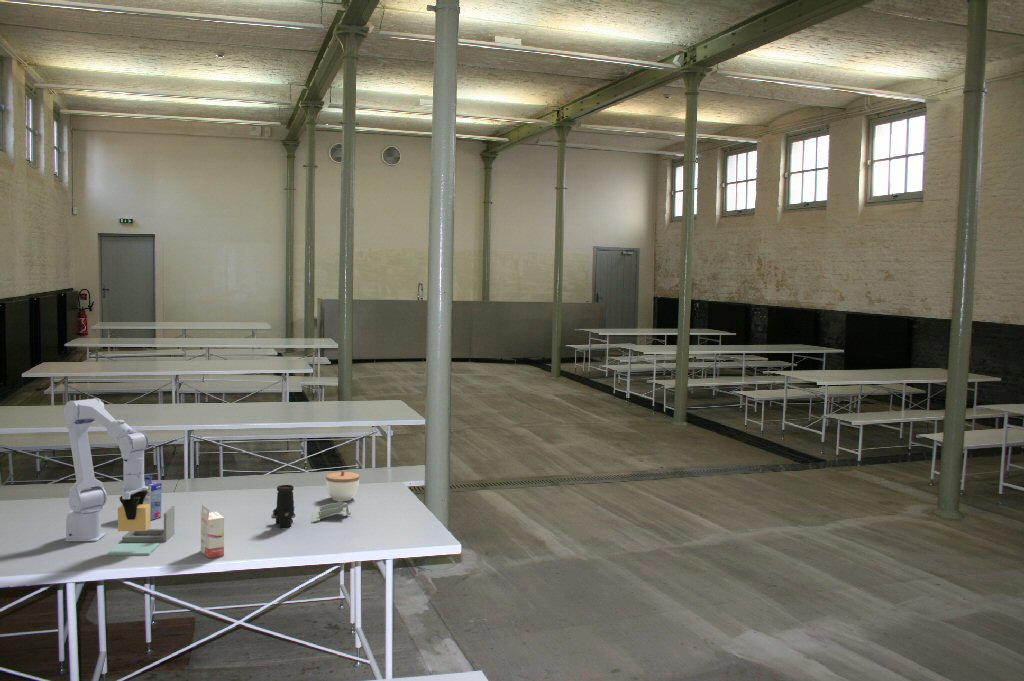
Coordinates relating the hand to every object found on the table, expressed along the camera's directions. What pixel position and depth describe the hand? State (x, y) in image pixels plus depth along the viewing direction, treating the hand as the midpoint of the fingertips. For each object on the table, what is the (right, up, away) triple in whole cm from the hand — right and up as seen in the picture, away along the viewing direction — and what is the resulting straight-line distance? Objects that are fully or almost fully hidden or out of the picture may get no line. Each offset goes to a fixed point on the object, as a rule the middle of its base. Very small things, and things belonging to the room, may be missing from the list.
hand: (133, 517), depth 257 cm
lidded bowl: (+50, -8, +69) cm, 85 cm away
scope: (+38, -10, +30) cm, 49 cm away
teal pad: (0, -10, +1) cm, 10 cm away
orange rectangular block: (0, -4, 0) cm, 4 cm away
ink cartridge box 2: (+24, -11, -1) cm, 26 cm away
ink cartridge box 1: (-12, -8, +36) cm, 39 cm away
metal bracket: (+50, -10, +43) cm, 67 cm away
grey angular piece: (-2, -9, +14) cm, 17 cm away
